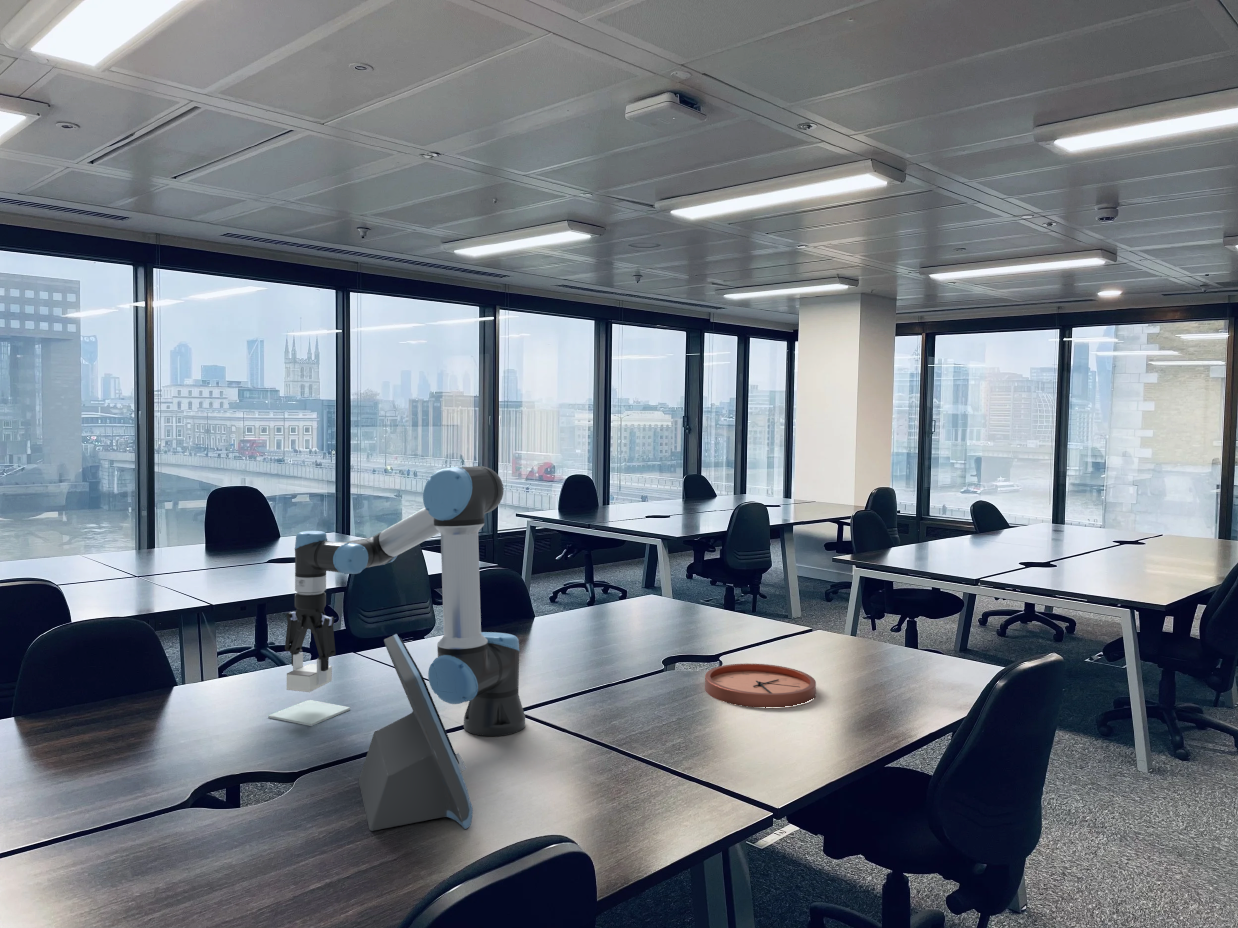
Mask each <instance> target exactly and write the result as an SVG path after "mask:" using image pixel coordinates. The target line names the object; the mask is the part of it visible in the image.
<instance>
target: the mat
mask: <svg viewBox="0 0 1238 928" xmlns="http://www.w3.org/2000/svg"><path fill="white" fill-rule="evenodd" d="M350 710H351V707H350V706H345V705H341V704H340V705H339V704H334V703H329V702H323V701H317V700H312V699H307V700H305V701H302V702H300V703H297V704H294V705H291V706H289V707H286V708H284V709H281V710H279V711H275V712H274V713H271V714H268V715H267V717H268V718H269V719H274V720H279V721H285V722H290V723H294V724H299V725H304V726H310V727H313V726H315V725H317V724H319V723H322V722H325V721H327V720H329V719H331V718H334V717H336V716H339V715H341V714H344V713H346V712H348V711H350Z"/></svg>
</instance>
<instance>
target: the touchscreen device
mask: <svg viewBox="0 0 1238 928" xmlns="http://www.w3.org/2000/svg"><path fill="white" fill-rule="evenodd" d="M383 642H384V645H385V649H386V651H387V653H388V656H389V657H390V660H391V662H392V664H393V667H394V669H395V671H396V674H397V676H398V678H399V680H400V683H401V686H402V688H403V690H404V693H405V694H406V697H407V700H408V702H409V705H410V707H411V710H412V711H411V713H409V714H407V715H405V716H403V717H401V718H400V719H399V718H398V720H396V721H393V722H391V723H390V724H388V725H386V726H384V727H382V728H379V729H378V730H375V731H374V732H373V735H372V738H371V740H370V741H371V742H370V744H369V746H368V750H367V753H366V756H365V760H364V762H363V766H362V769H361V772H360V775H359V779H358V784H359V785H358V786H359V790H360V792H361V793H360V795H361V797H362V798H361V799H362V802H363V807H364V812H365V816H366V821H367V825H368V829H369V831H370V832H373V831H379V830H383V829H390V828H394V827H399V826H406V825H409V824H414V823H420V822H424V821H431V820H436V819H441V818H449V819H451V820H453V821H455V822H456V823H458V824H459V825H461V827H462V828H463V829H464V830H466V829H468V828H469V827H471V825H472V820H473V814H474V813H473V812H474V810H473V806H472V802H471V800H470V795H469V792H468V788H467V787H468V786H467V785H466V782H465V780H464V777H463V774H462V772H463V771H465V770H467V767H466V764H465V763H464V762H465V761H464V760H463V759H462V757H461V754H460V753H459V752H458V753H456V752H455V750H454V747H453V744H452V742H451V740H450V737H449V735H448V733H447V730H446V728H445V726H444V722H443V721H442V719H441V716H440V714H439V711H438V709H437V707H436V705H435V702H434V700H433V697H432V694H431V692H430V690H429V687H428V685H427V682H426V680H425V678H424V676H423V674H422V672H421V671H420V668H419V667H418V665H417V664H416V662H415V660H414V658H413V656H412V655H411V653H410V651H409V649H408V648H407V645H406V644H405V642H404V641H403V639H402V637H399V636H398V634H397V633H395V634H393V635H392V636H389V637H387V638H384V639H383Z"/></svg>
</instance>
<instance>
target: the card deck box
mask: <svg viewBox="0 0 1238 928" xmlns="http://www.w3.org/2000/svg"><path fill="white" fill-rule="evenodd" d="M332 680H333V666H332V665H328V670H327V682H325V683H322V684H320V685H318V684H317V663H308V664H307V665H303V667H301V668H299V669H297V670H293V669H292V671H289V672H286V691H292V692H293V691H295V692H303V693H312V692H313V691H315V690H317V689H318V688H321V687H323V686H326V684H328V683H331V682H332Z"/></svg>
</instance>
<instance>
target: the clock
mask: <svg viewBox="0 0 1238 928" xmlns="http://www.w3.org/2000/svg"><path fill="white" fill-rule="evenodd" d="M816 688H817V682H816V680H815V678H814V677H812V676H811V675H810V674H808V673H806V672H804V671H801V670H798V669H795V668H791V667H787V666H782V665H781V666H780V665H777V664H776V665H775V664H767V663H766V664H765V663H732V664H724V665H720V666H716V667H714V668H711V669H709V670H707V671H706V672H705V675H704V690H705V691H704V692H705V693H706V694H708V696H710V697H712V698H713V699H716V700H717V701H718V700H719V701H721V702H723V701H724V703H726V702H727V704H730V703H731V704H730V705H734V704H736V705H735V706H739V705H742V707H746V706H748V707H747V708H754V707H765V708H764V709H767V708H766V707H785V706H793V705H797V704H801V703H805V702H807V701H809V700H811V699H813V698H814V697H815V698H816V696H815V694H817V693H816V692H817V689H816Z"/></svg>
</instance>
